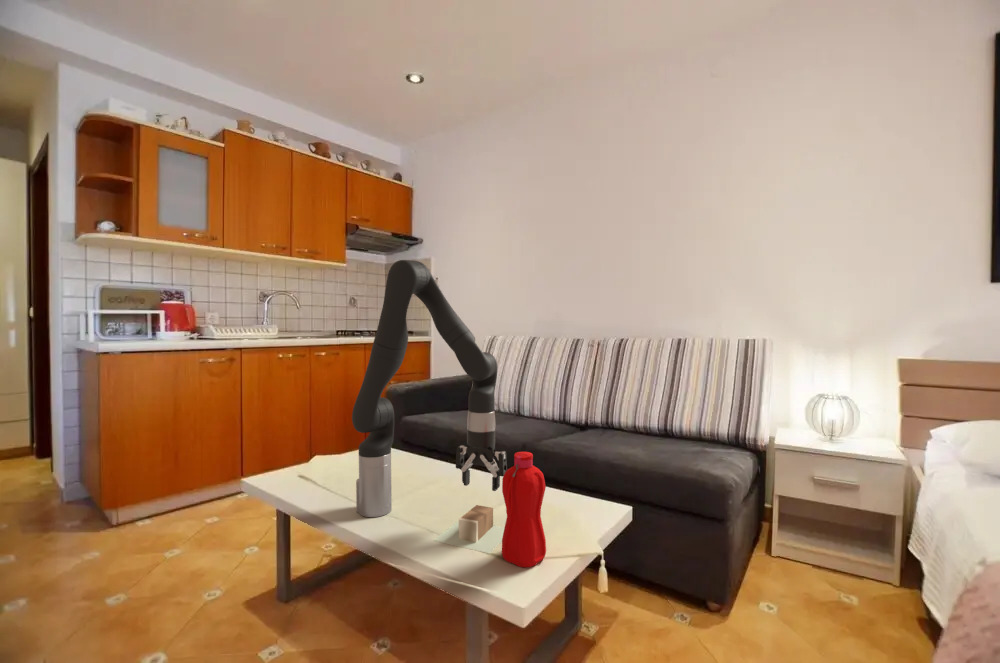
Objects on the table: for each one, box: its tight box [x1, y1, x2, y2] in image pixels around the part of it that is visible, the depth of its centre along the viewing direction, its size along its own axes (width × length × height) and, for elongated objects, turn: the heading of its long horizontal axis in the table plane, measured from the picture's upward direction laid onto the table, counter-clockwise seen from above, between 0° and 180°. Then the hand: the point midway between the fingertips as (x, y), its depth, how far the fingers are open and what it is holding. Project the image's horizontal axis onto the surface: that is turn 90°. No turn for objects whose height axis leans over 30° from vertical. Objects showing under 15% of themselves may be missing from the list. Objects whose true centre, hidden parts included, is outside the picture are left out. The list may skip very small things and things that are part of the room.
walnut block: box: [458, 504, 494, 542], centre depth 120 cm, size 5×5×10 cm
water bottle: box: [501, 451, 547, 568], centre depth 107 cm, size 9×11×25 cm
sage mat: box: [433, 519, 505, 555], centre depth 119 cm, size 16×14×1 cm
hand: (480, 487), depth 122 cm, fingers open, 8 cm apart
